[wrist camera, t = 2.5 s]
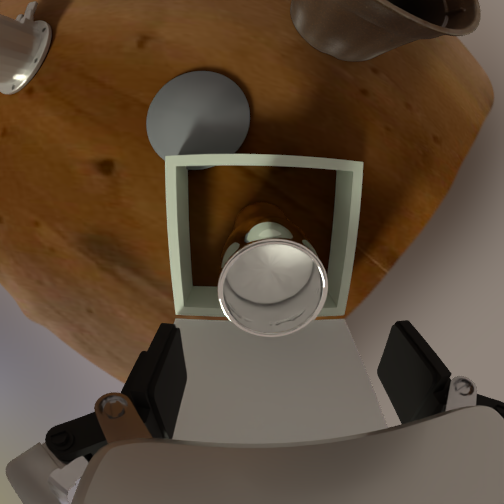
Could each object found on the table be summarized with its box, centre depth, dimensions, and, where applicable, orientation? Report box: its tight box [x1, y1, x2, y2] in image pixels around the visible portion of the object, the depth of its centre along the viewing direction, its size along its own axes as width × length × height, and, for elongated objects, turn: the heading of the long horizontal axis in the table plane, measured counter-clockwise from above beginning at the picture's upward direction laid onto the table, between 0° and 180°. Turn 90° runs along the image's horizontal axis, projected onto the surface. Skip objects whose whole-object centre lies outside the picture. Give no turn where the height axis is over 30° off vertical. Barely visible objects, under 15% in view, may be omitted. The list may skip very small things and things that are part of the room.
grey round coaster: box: [147, 71, 250, 170], centre depth 25 cm, size 11×11×1 cm
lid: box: [172, 319, 388, 444], centre depth 21 cm, size 16×18×1 cm
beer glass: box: [217, 202, 328, 338], centre depth 23 cm, size 7×7×15 cm
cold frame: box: [165, 154, 363, 317], centre depth 28 cm, size 16×18×5 cm
